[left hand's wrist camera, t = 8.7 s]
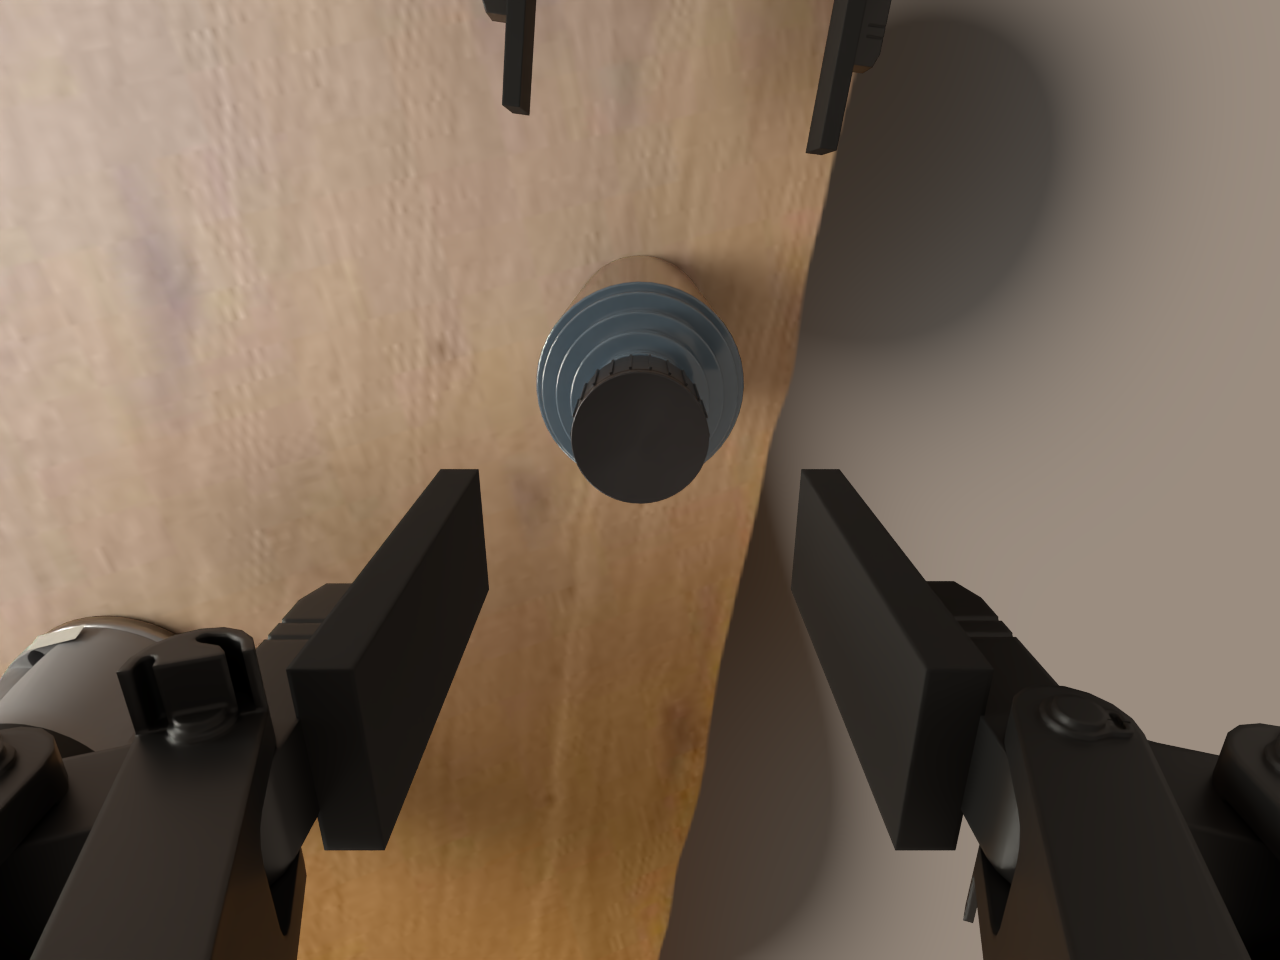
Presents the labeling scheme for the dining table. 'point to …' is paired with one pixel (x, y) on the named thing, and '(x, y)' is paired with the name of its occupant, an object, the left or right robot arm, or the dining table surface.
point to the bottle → (640, 342)
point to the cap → (640, 430)
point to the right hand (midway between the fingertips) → (669, 132)
